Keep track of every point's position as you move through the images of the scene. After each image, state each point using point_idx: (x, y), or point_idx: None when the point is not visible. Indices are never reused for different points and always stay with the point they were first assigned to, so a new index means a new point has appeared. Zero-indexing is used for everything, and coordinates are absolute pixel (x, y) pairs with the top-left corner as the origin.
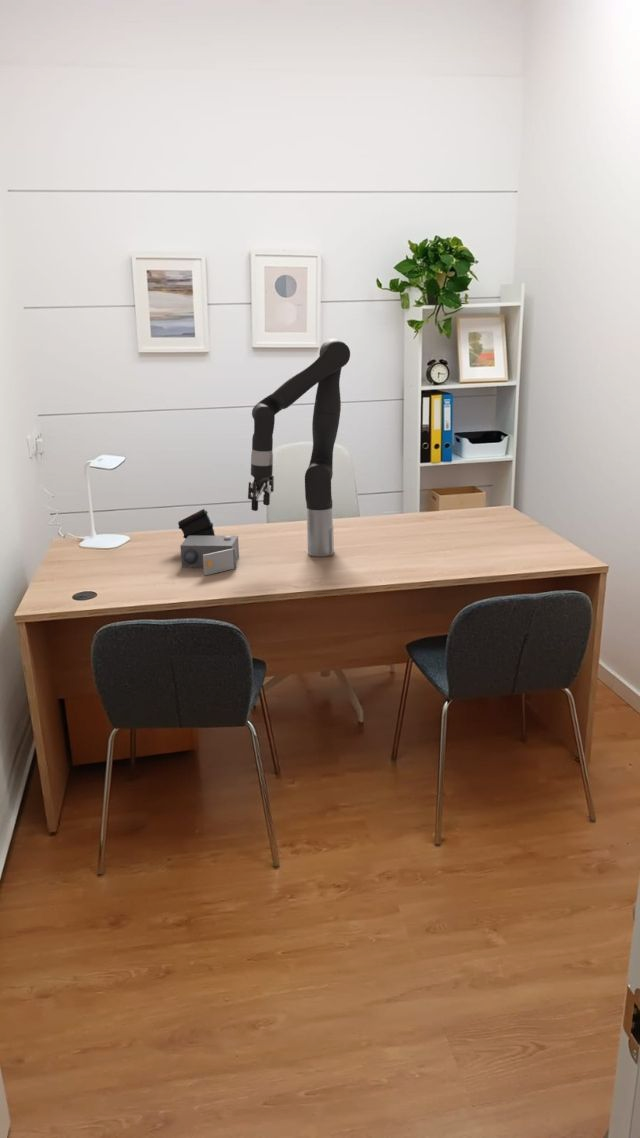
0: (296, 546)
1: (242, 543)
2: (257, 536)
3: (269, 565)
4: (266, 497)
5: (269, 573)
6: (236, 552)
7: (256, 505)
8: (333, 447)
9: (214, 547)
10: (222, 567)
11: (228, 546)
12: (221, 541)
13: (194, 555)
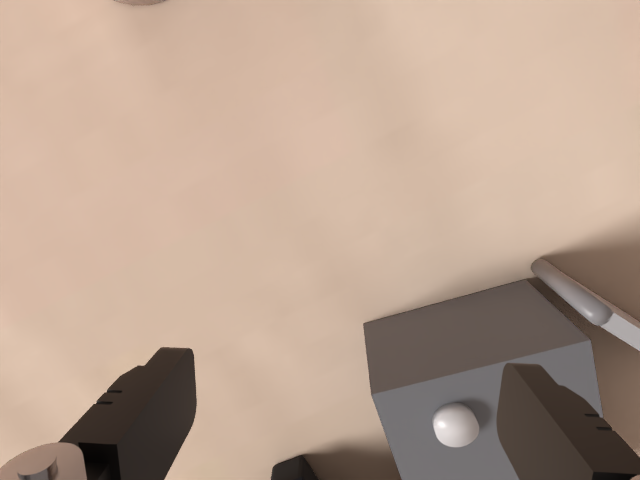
0: (89, 130)
1: None
2: (54, 380)
3: (443, 121)
4: (144, 454)
5: (576, 54)
6: (429, 330)
7: (573, 418)
8: None
9: None
10: (610, 304)
11: (591, 354)
12: None
13: None
